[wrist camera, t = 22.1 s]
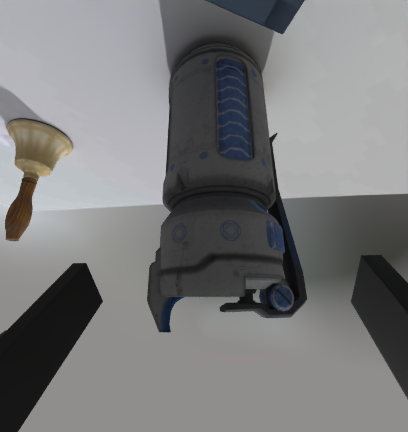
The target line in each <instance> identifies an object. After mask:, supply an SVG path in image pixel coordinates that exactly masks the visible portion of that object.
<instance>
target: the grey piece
mask: <svg viewBox="0 0 408 432" xmlns="http://www.w3.org/2000/svg"><path fill="white" fill-rule="evenodd" d="M169 106H170V110H169V128H168V145H167V163H166V177H165V180H164V184H163V204H164V205H165V207H166V208H167V209H168V210H169V211H171V213H170V214H169V216H168V217H167V218H166V220H165V221H164V222H163V224H162V225H161V237H160V248H159V249H158V250H157V251H156V259H155V260H156V261H155V262H153V263H152V264H151V265H150V268H149V281H148V295H147V301H148V305H149V307H150V310H151V312H152V315H153V317H154V320H155V323H156V325H157V328H158V330H159V332H171V331H170V326H169V323H170V313H171V310H172V308H173V306H174V304H175V303H176V302H177V301H178V300H180V299H182V298H184V297H239V298H240V301H238V302H237V303H225V304H224V305H222V306H221V307H220V311H221V312H241V311H254V312H256V313H257V314H259V315H260V316H261V317H265V318H284V317H285V318H286V317H291V316H293V314H294V313H295V312H297V311H298V309H300V308H301V306H303V304H304V303H305V301H306V300H307V295H306V289H305V283H304V276H303V271H302V268H301V265H300V261H299V258H298V255H297V251H296V248H295V244H294V241H293V237H292V234H291V231H290V227H289V224H288V220H287V217H286V213H285V210H284V207H283V203H282V200H281V196H280V193H279V190H278V183H277V176H276V169H275V161H274V154H273V147H272V142H273V140H274V139H275V137H276V135H277V134H278V133H276V134H274V135H273V136H272V137H270V138H269V131H268V122H267V114H266V105H265V96H264V88H263V79H262V75H261V71H260V69H259V67H258V65H257V63H256V62H255V61H254V60H253V59H252V58H251V57H250V56H249V55H248V54H246V53H245V52H243V51H242V50H240V49H239V48H237V47H234V46H229V45H228V44H221V43H217V44H208V45H204V46H201V47H199V48H197V49H195V50H193V51H192V52H190V53H189V54H187V55H186V56H185V57H184V58H183V59H182V60H181V61H180V62H179V63H178V65H177V66H176V67H175V69H174V71H173V73H172V75H171V79H170V83H169ZM267 210H268V213H267ZM283 271H284V275H285V279H284V275H283ZM257 289H260V295H259V298H260V302H261V303H256V302H255V301H253V293H255V292H256V290H257Z"/></svg>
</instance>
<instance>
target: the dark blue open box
mask: <svg viewBox="0 0 408 432" xmlns="http://www.w3.org/2000/svg"><path fill="white" fill-rule="evenodd" d="M206 1H208V2H210V3H212V4H215V5H217V6H219V7H222V8H224V9H226V10H228V11H231V12H233V13H235V14H237V15H240V16H242V17H244V18H247V19H249V20H251V21H253V22H256V23H258V24H260V25H262V26H265V27H267V28H269V29H271V30H274V31H276V32H278V33H281V34H283V33H284V32H285V30H286V29H287V27H288V25H289V24H290V22H291V21H292V19H293V18H294V16H295V14H296V13H297V11H298V10H299V8H300V7H301V5H302V3H303V2H304V0H206Z"/></svg>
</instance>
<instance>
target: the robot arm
mask: <svg viewBox="0 0 408 432" xmlns="http://www.w3.org/2000/svg"><path fill="white" fill-rule="evenodd" d="M102 302H103V301H102V298H101V296H100V294H99V291H98V289H97V287H96V285H95V282H94V280H93V278H92V275H91V273H90V271H89V269H88V266H87V264H86V263H73V264H72V265H71V266H70V267H69V268H68V269H67V270H66V271H65V272H64V273H63V274H62V275H61V276H60V277H59V278H58V279H57V280H56V281H55V282H54V283H53V284H52V285H51V286H50V287H49V288H48V290H46V291H45V292H44V293H43V294H42V295H41V296H40V297H39V298H38V300H37V301H35V302H34V303H33V304H32V306H31V307H30V308H29V309H28V310H27V311H26V312H25V313H24V314H23V315H22V316H21V317H20V318H19V319H18V320H17V321H16V322H15V323H14V324H13V325H12V326H11V327H10V328H9V329H8V330H6V331H4V332H3V333H1V334H0V432H18V431H19V429H20V428H21V426H22V425H23V423H24V422H25V420H26V418H27V417H28V415H29V414H30V412H31V411H32V409H33V408H34V406H35V405H36V403H37V402H38V400H39V399H40V397H41V396H42V394H43V392H44V391H45V389H46V388H47V386H48V385H49V383H50V382H51V380H52V378H53V377H54V375H55V374H56V372H57V371H58V369H59V368H60V366H61V365H62V363H63V362H64V360H65V359H66V357H67V356H68V354H69V353H70V351H71V350H72V348H73V346H74V345H75V343H76V342H77V340H78V339H79V337H80V335H81V334H82V332H83V331H84V330H85V328H86V327H87V325H88V323H89V322H90V320H91V319H92V317H93V316H94V314H95V313H96V311H97V310H98V308H99V307H100V305H101V303H102ZM351 303H352V305H353V306H354V308H355V310H356V311H357V313H358V315H359V317H360V318H361V320H362V322H363V323H364V325H365V327H366V328H367V330H368V332H369V334H370V335H371V337H372V339H373V340H374V342H375V344H376V346H377V347H378V349H379V350H380V353H381V354H382V356H383V357H384V359H385V361H386V363H387V364H388V366H389V368H390V370H391V371H392V373H393V375H394V377H395V378H396V380H397V382H398V383H399V385H400V387H401V388H402V390H403V392H404V394H405V395H406V397H407V399H408V283H407V282H406V281H405V280H404V279H403V277H402V276H401V275H400V274H399V273H398V272H397V271H396V270H395V269H394V268H393V267H392V266H391V265H390V264H389V263H388V262H387V261H386V260H385V259H384V258H383V257H382V255H366V256H363V255H362V256H361V259H360V263H359V268H358V272H357V277H356V281H355V286H354V290H353V295H352V299H351Z"/></svg>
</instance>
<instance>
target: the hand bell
mask: <svg viewBox="0 0 408 432" xmlns="http://www.w3.org/2000/svg"><path fill="white" fill-rule="evenodd" d="M7 130H8V133H9V135H10V137H11V138H12V139H13V140H14V142H15V146H16V156H15V165H16V166H17V168H19V169H20V170H22V171H23V172H24V178H22V183H21V186H20V191H19V194H18V196H17V197H16V199H15V200H14V201H13V203H12V204H11V206H10V208H9V210H8V213H7V215H6V220H5V229H6V240H9V241H18V240H19V238H20V237H21V235H22V234H23V232H24V231H25V230H26V228H27V227H28V225H29V223H30V220H31V215H32V195H33V192H34V189H35V187H36V184H37V181H38V178H39V177H40V176H48V175H50V174H51V173H52V171H53V168H54V166H55V164H56V163H57V161H58V160H59V159H60V158H61V157H62V156H65V155H68V154H69V153H70V152H71V151H72V149H73V145H72V143H71V141H70V139H69V138H68V137H67V136H65V135H64V134H63V133H61V132H60V131H58V130H57V129H55V128H53V127H51V126H49V125H46V124H44V123H40V122H37V121H33V120H26V119H17V120H13V121H10V122H9V123H8V125H7Z"/></svg>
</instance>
